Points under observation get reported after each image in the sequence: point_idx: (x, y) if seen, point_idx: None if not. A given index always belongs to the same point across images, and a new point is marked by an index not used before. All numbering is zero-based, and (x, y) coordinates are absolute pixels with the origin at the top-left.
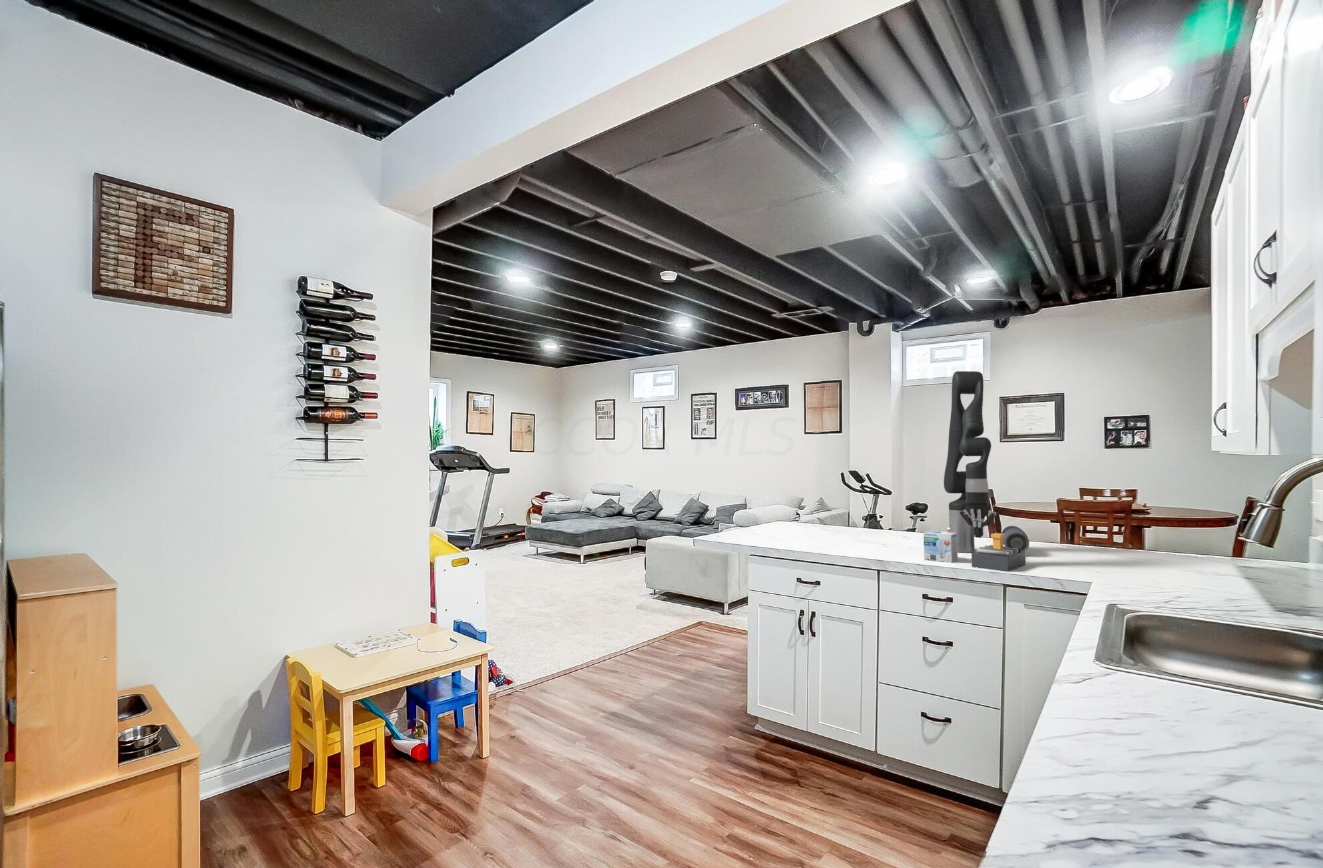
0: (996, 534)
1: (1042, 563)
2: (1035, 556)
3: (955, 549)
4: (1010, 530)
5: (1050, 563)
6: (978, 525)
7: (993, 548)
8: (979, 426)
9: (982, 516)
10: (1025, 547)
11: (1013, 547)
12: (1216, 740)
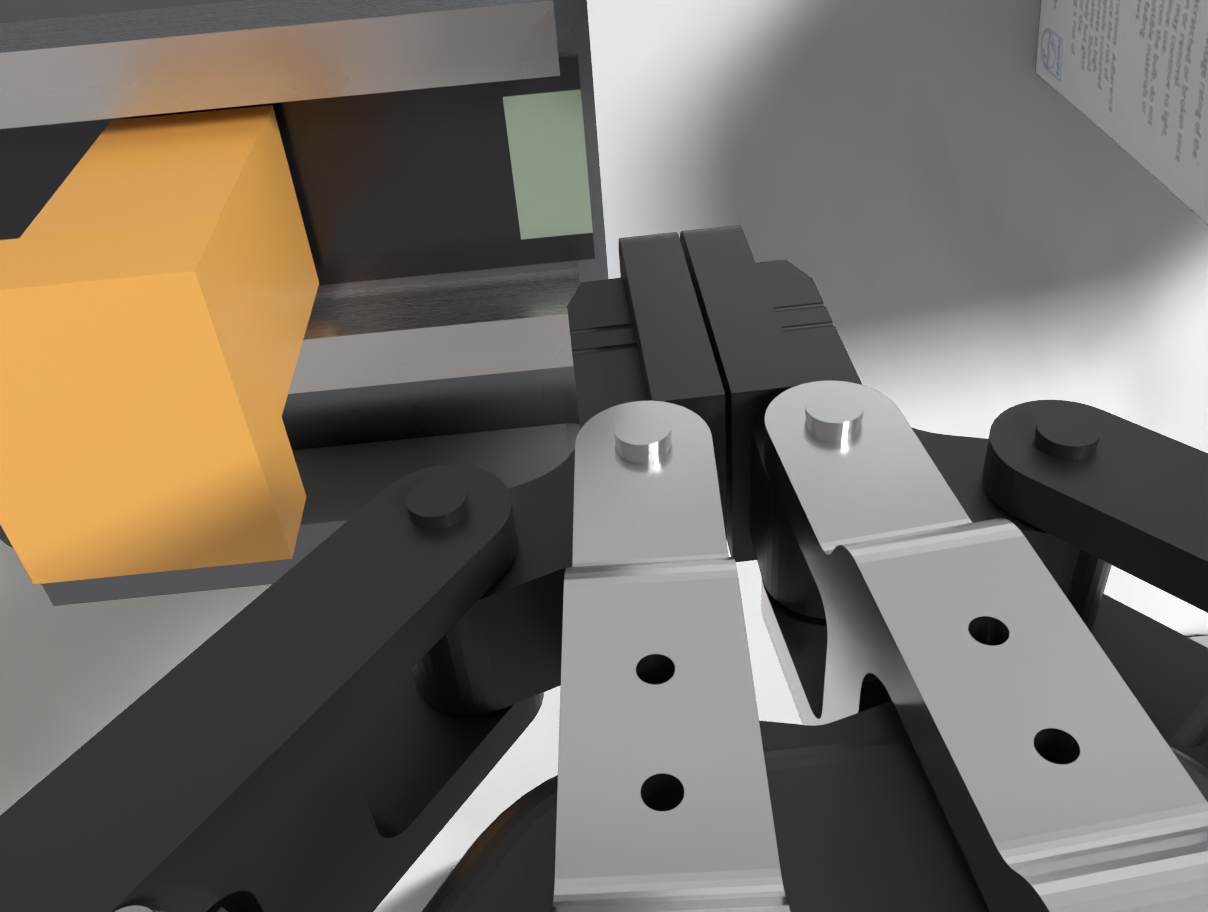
0: (37, 316)
1: (96, 668)
2: (421, 906)
3: (1145, 9)
4: None
5: (51, 718)
6: (678, 442)
7: (217, 83)
8: None
9: (523, 822)
10: None
11: None
12: None
